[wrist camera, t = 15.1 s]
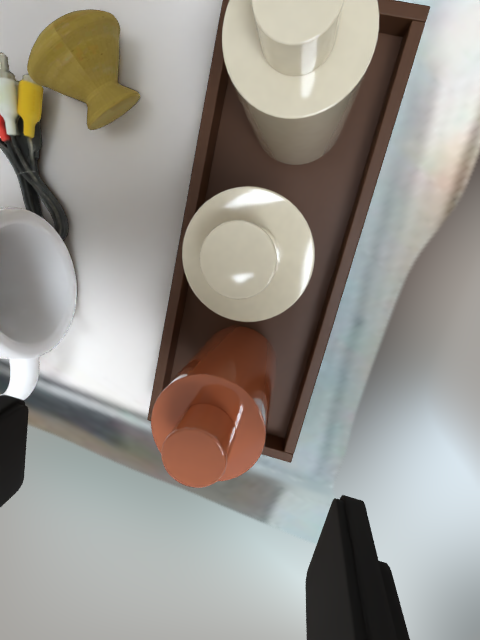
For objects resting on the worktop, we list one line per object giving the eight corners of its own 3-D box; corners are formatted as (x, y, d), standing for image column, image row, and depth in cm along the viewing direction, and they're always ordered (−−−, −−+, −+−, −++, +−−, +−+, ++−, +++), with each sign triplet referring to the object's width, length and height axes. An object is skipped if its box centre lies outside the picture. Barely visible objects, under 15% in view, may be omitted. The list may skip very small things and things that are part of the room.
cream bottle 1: (283, 44, 18) (266, -169, 9) (365, 93, 18) (440, -66, 9) (236, 136, 20) (175, 39, 10) (312, 182, 20) (324, 130, 10)
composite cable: (76, 241, 23) (51, 242, 21) (10, 243, 24) (-22, 244, 22) (55, 67, 21) (24, 45, 19) (-18, 75, 22) (-57, 55, 19)
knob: (55, 78, 21) (-16, 32, 16) (125, 22, 20) (70, -46, 15) (98, 153, 22) (41, 130, 17) (168, 103, 20) (128, 62, 16)
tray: (235, 2, 19) (227, -28, 17) (414, 34, 18) (430, 5, 16) (160, 403, 25) (146, 420, 23) (291, 442, 24) (290, 463, 22)
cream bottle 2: (251, 188, 20) (207, 145, 10) (325, 233, 20) (351, 231, 10) (209, 263, 21) (136, 286, 12) (279, 306, 21) (263, 364, 12)
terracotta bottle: (195, 329, 22) (117, 399, 13) (273, 322, 22) (252, 392, 12) (206, 401, 23) (141, 516, 14) (280, 397, 23) (267, 518, 13)
